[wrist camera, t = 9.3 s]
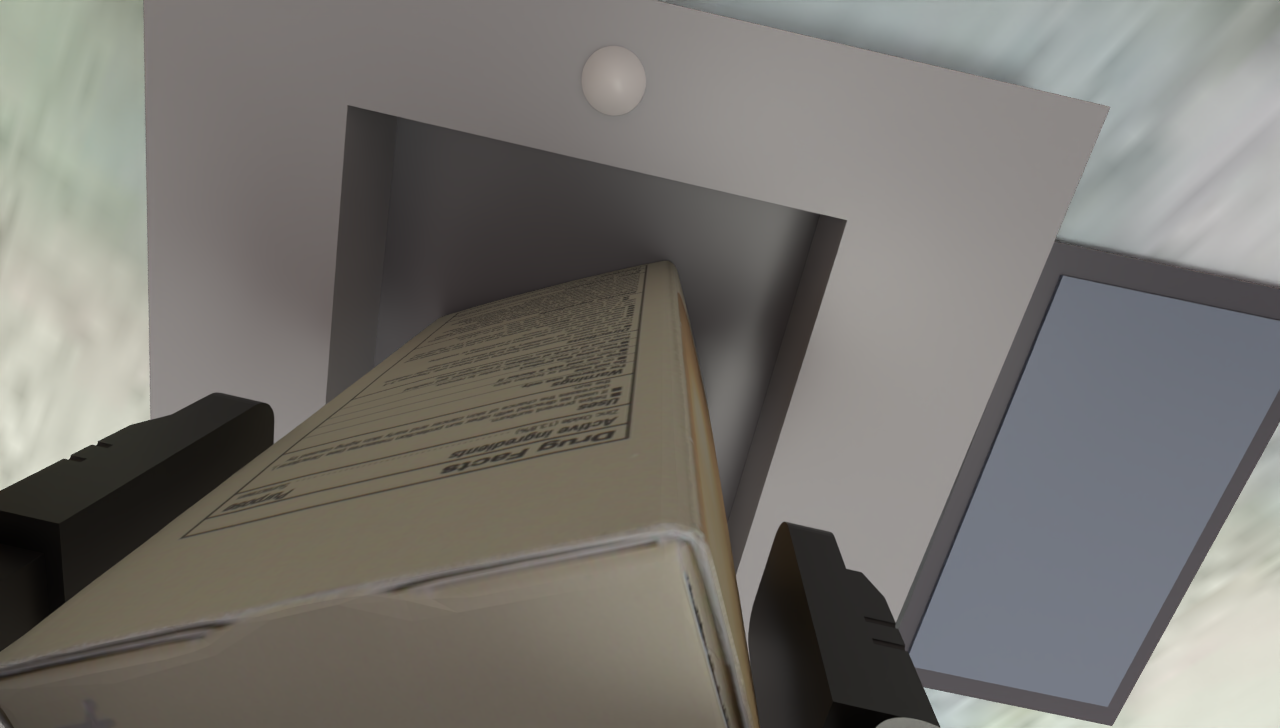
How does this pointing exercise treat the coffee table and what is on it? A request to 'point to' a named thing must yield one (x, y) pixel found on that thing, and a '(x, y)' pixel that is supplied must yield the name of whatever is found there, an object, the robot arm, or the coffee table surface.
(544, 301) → the skincare box
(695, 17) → the gray recessed tray
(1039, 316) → the phone
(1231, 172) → the coffee table surface
